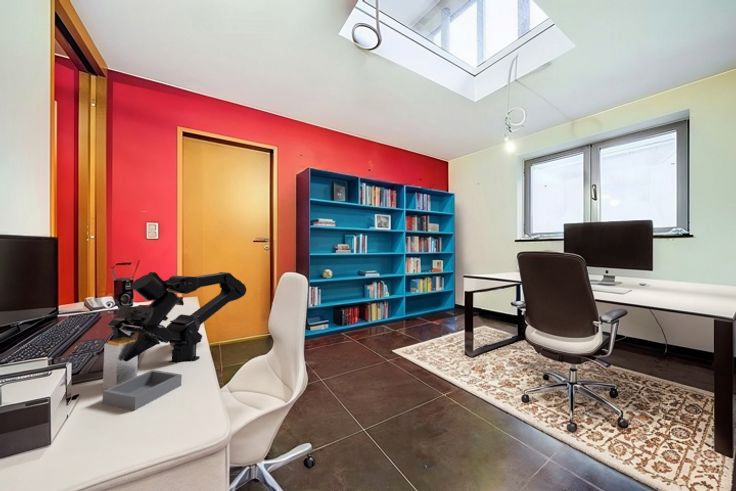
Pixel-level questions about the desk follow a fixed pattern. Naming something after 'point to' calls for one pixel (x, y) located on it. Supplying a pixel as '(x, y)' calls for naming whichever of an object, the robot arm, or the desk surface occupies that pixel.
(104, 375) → the block
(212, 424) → the desk surface
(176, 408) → the desk surface
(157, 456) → the desk surface
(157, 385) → the case
